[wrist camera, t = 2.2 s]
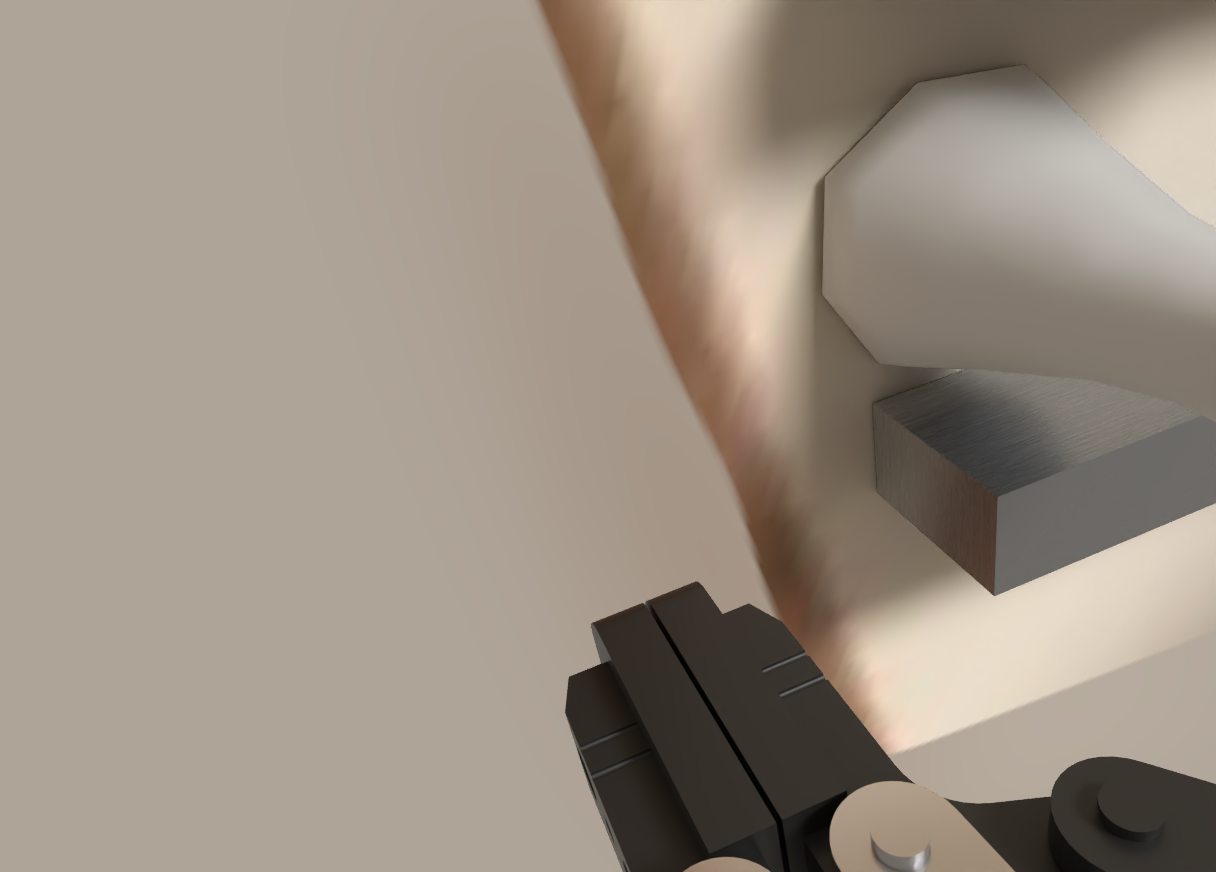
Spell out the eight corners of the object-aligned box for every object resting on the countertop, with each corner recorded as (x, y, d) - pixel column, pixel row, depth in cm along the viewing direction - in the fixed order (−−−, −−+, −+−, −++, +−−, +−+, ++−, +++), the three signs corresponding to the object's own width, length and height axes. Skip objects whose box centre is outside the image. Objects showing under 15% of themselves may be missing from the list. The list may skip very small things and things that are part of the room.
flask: (852, 402, 24) (1158, 640, 16) (773, 157, 20) (1126, 301, 12) (1077, 271, 25) (1491, 435, 16) (1043, 5, 21) (1567, 42, 12)
